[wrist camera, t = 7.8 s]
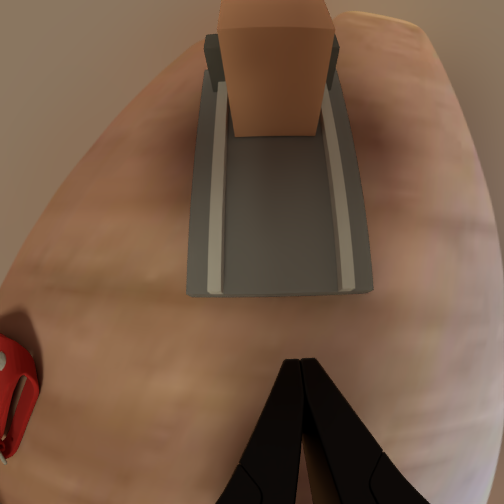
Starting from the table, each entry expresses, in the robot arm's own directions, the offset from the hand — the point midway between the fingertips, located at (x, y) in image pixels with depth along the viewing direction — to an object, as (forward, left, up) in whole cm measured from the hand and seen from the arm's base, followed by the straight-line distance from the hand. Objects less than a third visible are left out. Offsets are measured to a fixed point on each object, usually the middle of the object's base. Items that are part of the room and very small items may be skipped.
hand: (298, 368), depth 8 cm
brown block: (+14, -11, -11) cm, 21 cm away
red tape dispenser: (+10, +23, -13) cm, 28 cm away
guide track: (+11, -8, -12) cm, 18 cm away
